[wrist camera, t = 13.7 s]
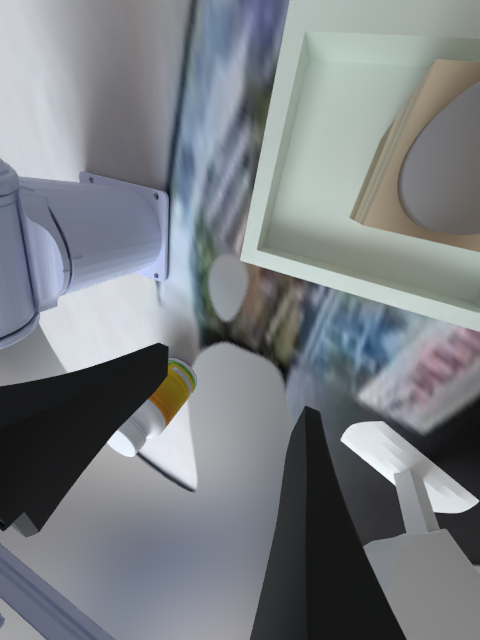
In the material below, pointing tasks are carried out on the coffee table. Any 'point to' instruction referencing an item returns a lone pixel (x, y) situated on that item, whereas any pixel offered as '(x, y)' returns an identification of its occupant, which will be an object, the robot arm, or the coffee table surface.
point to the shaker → (430, 162)
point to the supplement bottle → (156, 409)
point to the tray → (355, 152)
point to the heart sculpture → (420, 541)
